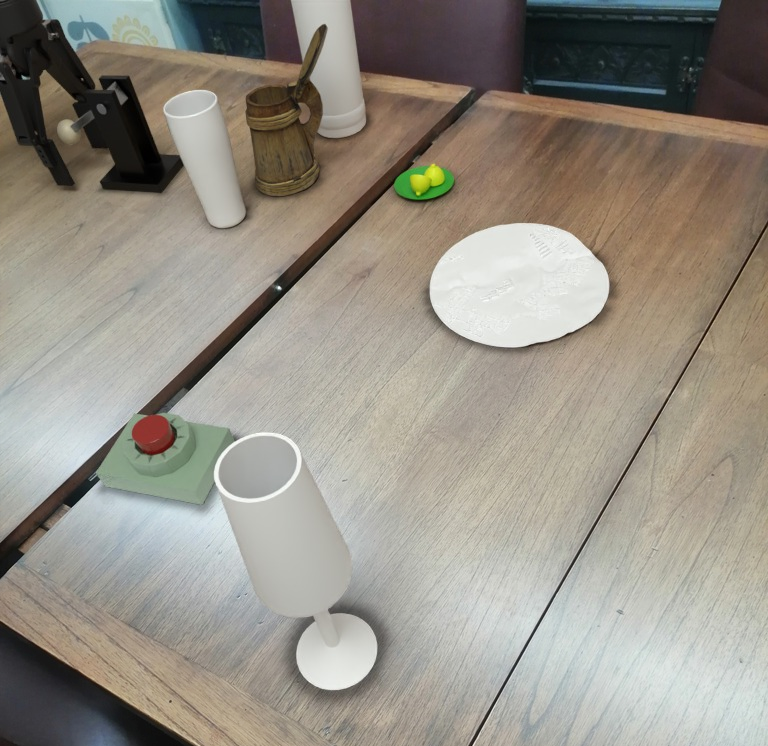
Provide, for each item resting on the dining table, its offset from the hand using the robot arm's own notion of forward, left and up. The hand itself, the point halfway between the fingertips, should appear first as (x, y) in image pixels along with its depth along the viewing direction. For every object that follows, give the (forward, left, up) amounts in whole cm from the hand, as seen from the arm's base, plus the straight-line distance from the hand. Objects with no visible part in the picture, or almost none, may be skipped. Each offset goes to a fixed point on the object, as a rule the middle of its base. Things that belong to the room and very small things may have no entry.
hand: (84, 165), depth 105 cm
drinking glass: (+28, -9, -1) cm, 30 cm away
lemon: (+53, +1, -1) cm, 53 cm away
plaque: (+69, -18, -1) cm, 71 cm away
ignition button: (+40, -50, +2) cm, 64 cm away
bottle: (+36, +16, -1) cm, 40 cm away
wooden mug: (+35, +2, -1) cm, 35 cm away
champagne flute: (+63, -65, -1) cm, 91 cm away
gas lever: (+6, 0, +6) cm, 8 cm away
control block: (+40, -50, -1) cm, 64 cm away
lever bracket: (+10, 0, -1) cm, 10 cm away
